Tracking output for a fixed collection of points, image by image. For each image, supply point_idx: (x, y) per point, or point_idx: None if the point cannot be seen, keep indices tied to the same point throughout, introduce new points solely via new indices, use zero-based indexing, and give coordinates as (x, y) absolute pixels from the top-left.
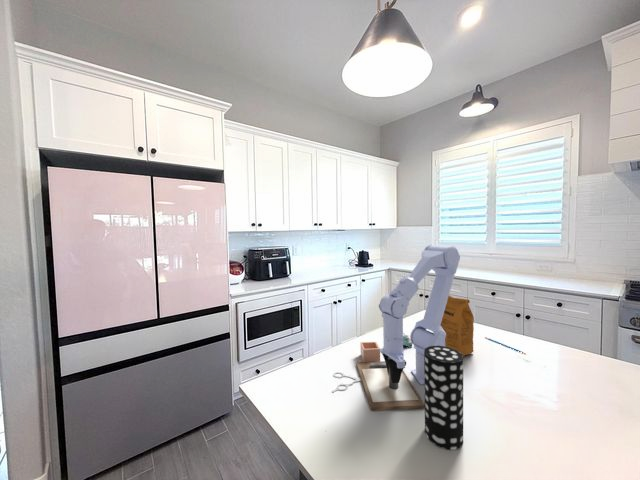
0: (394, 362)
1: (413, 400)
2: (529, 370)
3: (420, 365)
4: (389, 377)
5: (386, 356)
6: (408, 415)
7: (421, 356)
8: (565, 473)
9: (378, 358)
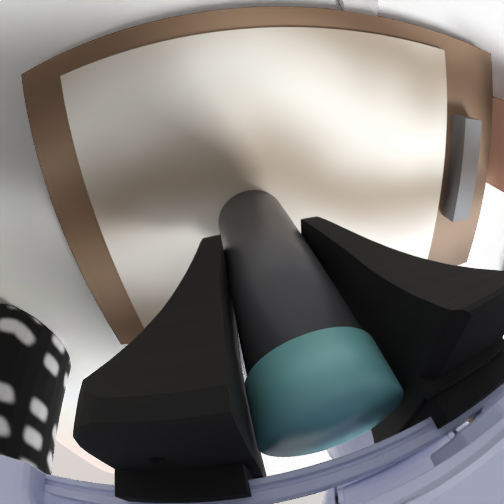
0: (131, 472)
1: (135, 309)
2: (325, 460)
3: None
4: (253, 227)
5: (422, 342)
6: (52, 264)
7: (368, 441)
8: (61, 443)
9: (500, 180)
